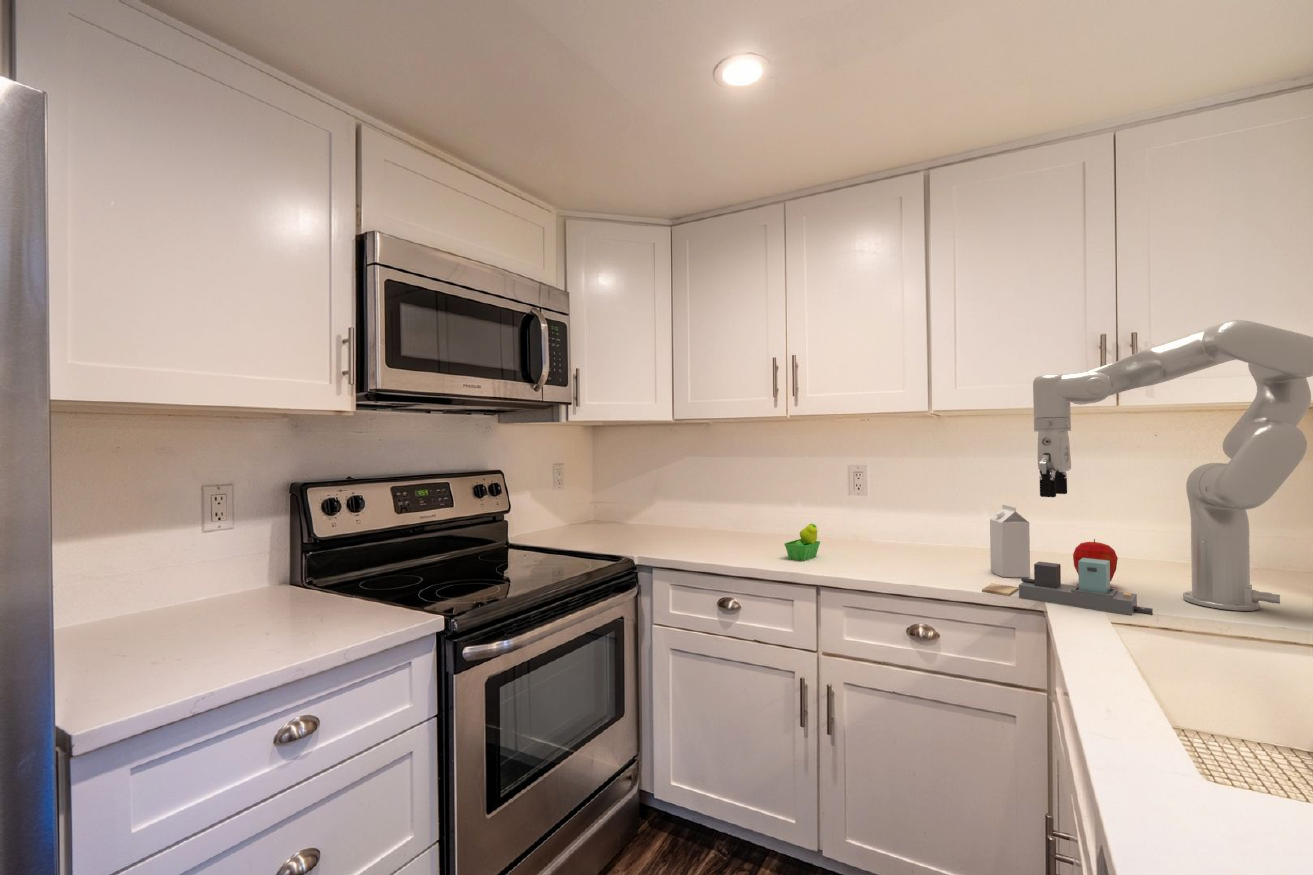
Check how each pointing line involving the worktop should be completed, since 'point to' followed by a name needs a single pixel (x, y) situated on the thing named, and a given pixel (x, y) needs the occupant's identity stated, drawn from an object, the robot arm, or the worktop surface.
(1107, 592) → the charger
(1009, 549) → the milk carton
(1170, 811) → the worktop surface
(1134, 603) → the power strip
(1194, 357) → the robot arm
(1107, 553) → the apple
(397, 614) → the worktop surface
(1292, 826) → the worktop surface
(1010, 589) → the cork pad
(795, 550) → the fruit basket
